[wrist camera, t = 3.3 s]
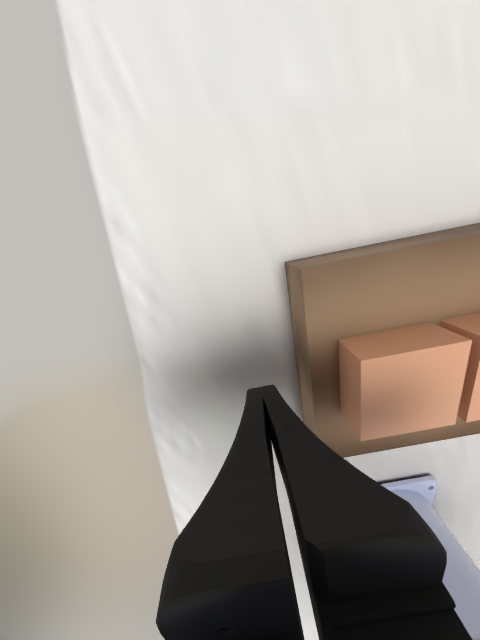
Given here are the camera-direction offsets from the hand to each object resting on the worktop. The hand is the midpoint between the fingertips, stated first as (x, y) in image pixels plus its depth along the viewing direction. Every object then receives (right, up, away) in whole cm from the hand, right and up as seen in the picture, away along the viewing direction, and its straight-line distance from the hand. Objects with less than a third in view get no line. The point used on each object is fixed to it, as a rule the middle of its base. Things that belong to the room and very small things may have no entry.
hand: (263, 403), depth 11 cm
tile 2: (+6, +2, +1) cm, 6 cm away
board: (+8, +3, +3) cm, 9 cm away
